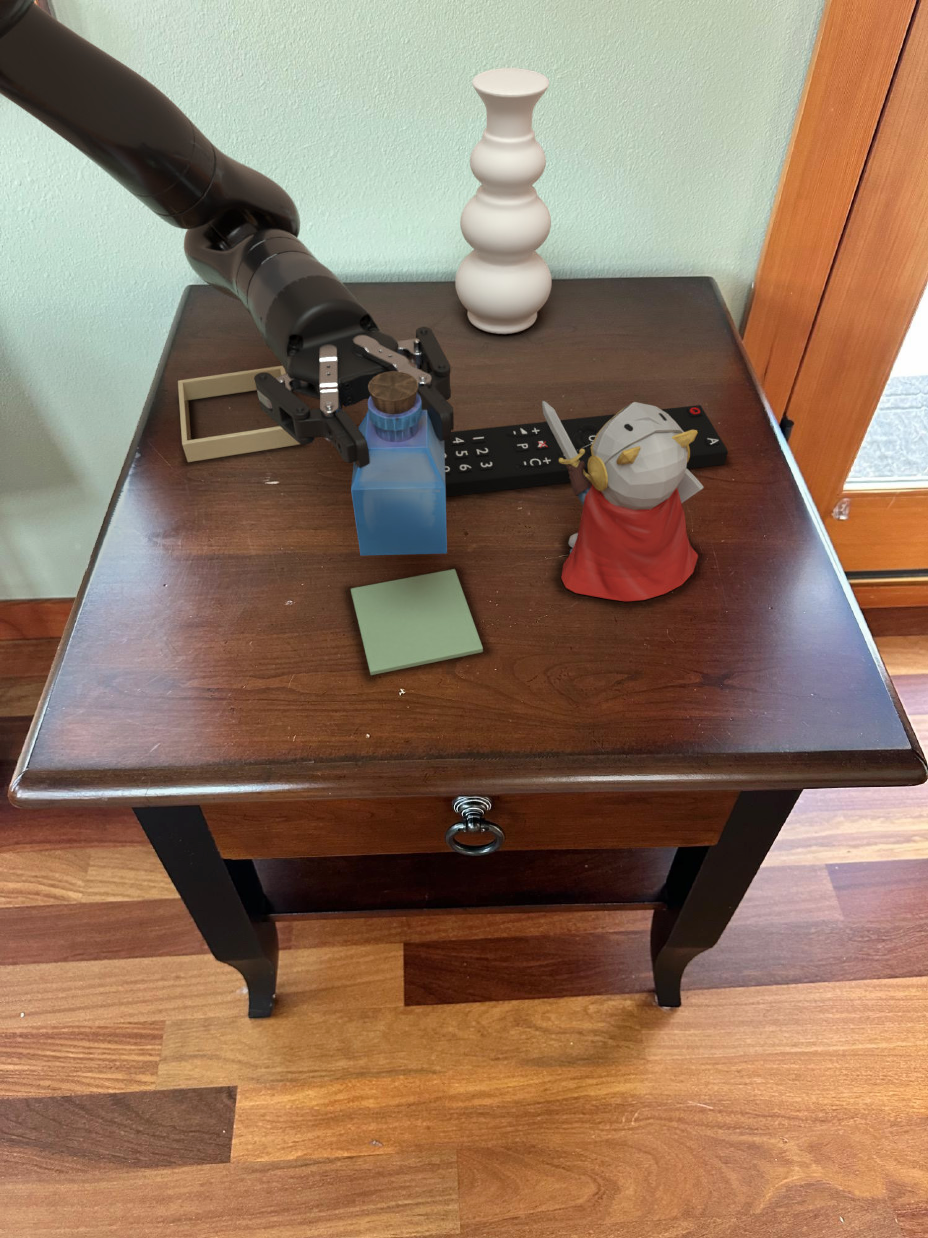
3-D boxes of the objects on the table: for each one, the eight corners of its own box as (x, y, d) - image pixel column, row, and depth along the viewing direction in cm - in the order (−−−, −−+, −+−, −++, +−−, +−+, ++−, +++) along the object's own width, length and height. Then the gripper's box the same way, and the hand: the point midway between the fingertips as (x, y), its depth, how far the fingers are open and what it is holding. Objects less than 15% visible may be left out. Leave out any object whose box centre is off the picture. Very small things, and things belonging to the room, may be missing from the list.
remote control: (727, 464, 81) (732, 447, 79) (399, 502, 77) (398, 485, 76) (699, 417, 86) (703, 400, 84) (390, 451, 82) (388, 434, 81)
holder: (187, 462, 81) (181, 444, 79) (183, 398, 88) (177, 380, 86) (300, 444, 83) (297, 426, 81) (287, 382, 90) (284, 364, 88)
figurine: (671, 502, 77) (706, 358, 66) (714, 592, 70) (762, 448, 58) (532, 518, 76) (544, 373, 64) (562, 611, 68) (581, 467, 57)
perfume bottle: (364, 497, 64) (347, 358, 55) (445, 495, 64) (441, 356, 55) (360, 555, 60) (340, 416, 51) (447, 553, 60) (442, 413, 51)
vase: (437, 314, 99) (430, 72, 80) (509, 287, 103) (519, 51, 84) (493, 355, 93) (501, 105, 74) (567, 324, 97) (592, 80, 78)
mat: (370, 675, 64) (370, 671, 64) (351, 592, 70) (350, 588, 70) (483, 652, 66) (483, 648, 65) (455, 572, 71) (454, 568, 71)
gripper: (208, 298, 59) (293, 427, 49) (392, 252, 64) (503, 362, 54) (231, 389, 65) (311, 520, 55) (398, 341, 69) (499, 454, 60)
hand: (405, 441), depth 55 cm, fingers closed on perfume bottle, 5 cm apart
